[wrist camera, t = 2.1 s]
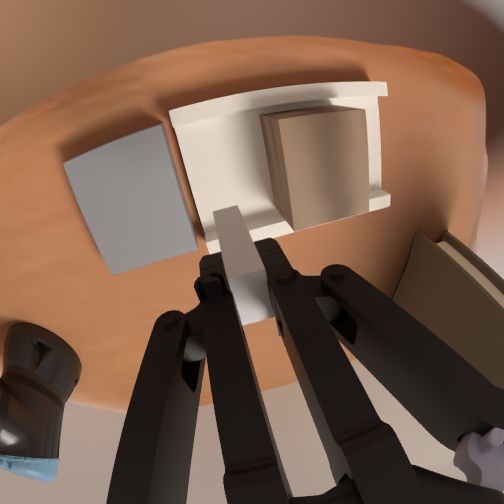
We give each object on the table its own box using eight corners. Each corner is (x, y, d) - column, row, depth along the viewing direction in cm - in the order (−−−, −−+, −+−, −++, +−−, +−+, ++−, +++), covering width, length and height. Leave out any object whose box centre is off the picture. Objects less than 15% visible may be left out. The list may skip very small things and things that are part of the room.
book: (406, 320, 52) (474, 421, 29) (373, 328, 49) (444, 445, 27) (447, 231, 40) (554, 335, 17) (415, 231, 38) (538, 357, 15)
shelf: (207, 241, 31) (210, 255, 29) (170, 110, 23) (168, 110, 21) (376, 197, 33) (390, 206, 31) (370, 81, 25) (386, 81, 23)
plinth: (116, 260, 30) (112, 275, 27) (73, 156, 23) (62, 163, 20) (196, 236, 31) (198, 250, 28) (163, 122, 24) (160, 124, 21)
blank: (275, 206, 30) (294, 231, 25) (258, 115, 24) (278, 119, 19) (340, 190, 30) (369, 211, 26) (332, 104, 25) (365, 109, 20)
